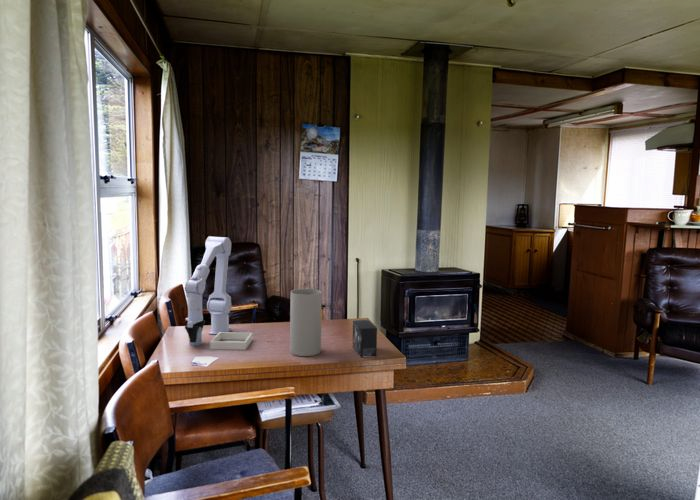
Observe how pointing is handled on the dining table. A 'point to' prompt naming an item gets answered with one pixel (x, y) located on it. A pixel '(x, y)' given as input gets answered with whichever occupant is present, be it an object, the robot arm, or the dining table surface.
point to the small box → (365, 338)
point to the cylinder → (199, 338)
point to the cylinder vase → (305, 322)
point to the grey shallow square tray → (218, 344)
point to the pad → (233, 341)
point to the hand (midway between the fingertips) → (195, 339)
